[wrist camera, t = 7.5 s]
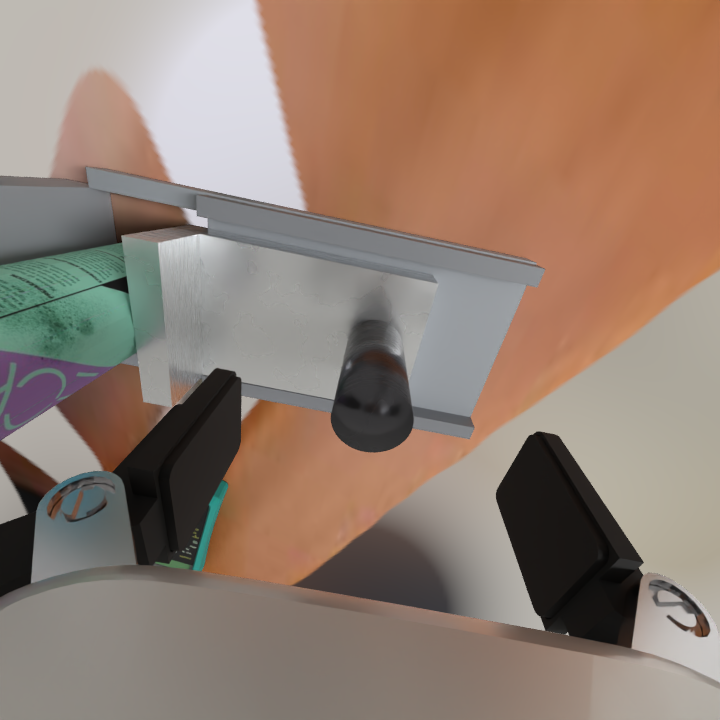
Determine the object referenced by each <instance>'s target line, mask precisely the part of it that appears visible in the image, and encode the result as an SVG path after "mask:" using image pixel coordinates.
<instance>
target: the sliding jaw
mask: <svg viewBox="0 0 720 720" xmlns="http://www.w3.org/2000/svg"><path fill="white" fill-rule="evenodd" d="M121 237H122V245H123V252H124V260H125V267H126V275H127V282H128V290H129V297H130V305H131V312H132V319H133V327H134V334H135V342H136V349H137V357H138V364H139V372H140V379H141V387H142V394H143V402H147V403H152V404H158V405H163V406H168V407H173V406H174V405H175V404H176V403H177V402H178V401H179V400H180V399H181V398H182V397H183V395H184V394H185V393H186V392H187V391H188V390H189V389H190V388H191V387H192V386H193V385H194V384H195V383H196V382H197V381H198V380H199V379H200V378H201V377H202V376H203V375H208V376H209V375H210V373H211V372H212V371H213V370H214V369H215V368H220V369H225V370H230V371H235V372H236V376H237V377H240V378H241V381H242V382H244V383H249V384H254V385H260V386H265V387H270V388H275V389H280V390H286V391H291V392H296V393H301V394H306V395H312V396H317V397H322V398H327V399H332V400H334V403H333V408H332V412H331V423H332V427H333V430H334V432H335V433H336V435H337V436H338V437H339V439H340V440H341V441H343V442H344V443H345V444H347V445H348V446H350V447H352V448H354V449H357V450H360V451H364V452H382V451H387V450H390V449H392V448H395V447H396V446H398V445H400V444H401V443H402V442H403V441H405V440H406V438H407V437H408V436H409V434H410V433H411V430H412V428H413V423H414V416H413V409H412V402H411V396H410V389H409V379H410V376H411V373H412V369H413V366H414V363H415V360H416V356H417V353H418V350H419V346H420V343H421V340H422V337H423V333H424V330H425V327H426V323H427V320H428V317H429V314H430V310H431V307H432V304H433V300H434V297H435V294H436V291H437V287H438V282H437V281H436V279H435V278H434V276H433V275H429V274H424V273H419V272H415V271H410V270H405V269H400V268H396V267H391V266H386V265H381V264H376V263H372V262H367V261H362V260H357V259H353V258H348V257H343V256H338V255H333V254H329V253H324V252H319V251H314V250H309V249H305V248H300V247H295V246H290V245H286V244H281V243H276V242H271V241H266V240H262V239H257V238H252V237H247V236H243V235H238V234H233V233H228V232H223V231H219V230H214V229H209V228H204V227H199V226H194V225H185V226H178V227H172V228H166V229H159V230H153V231H147V232H140V233H134V234H128V235H122V236H121Z"/></svg>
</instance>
